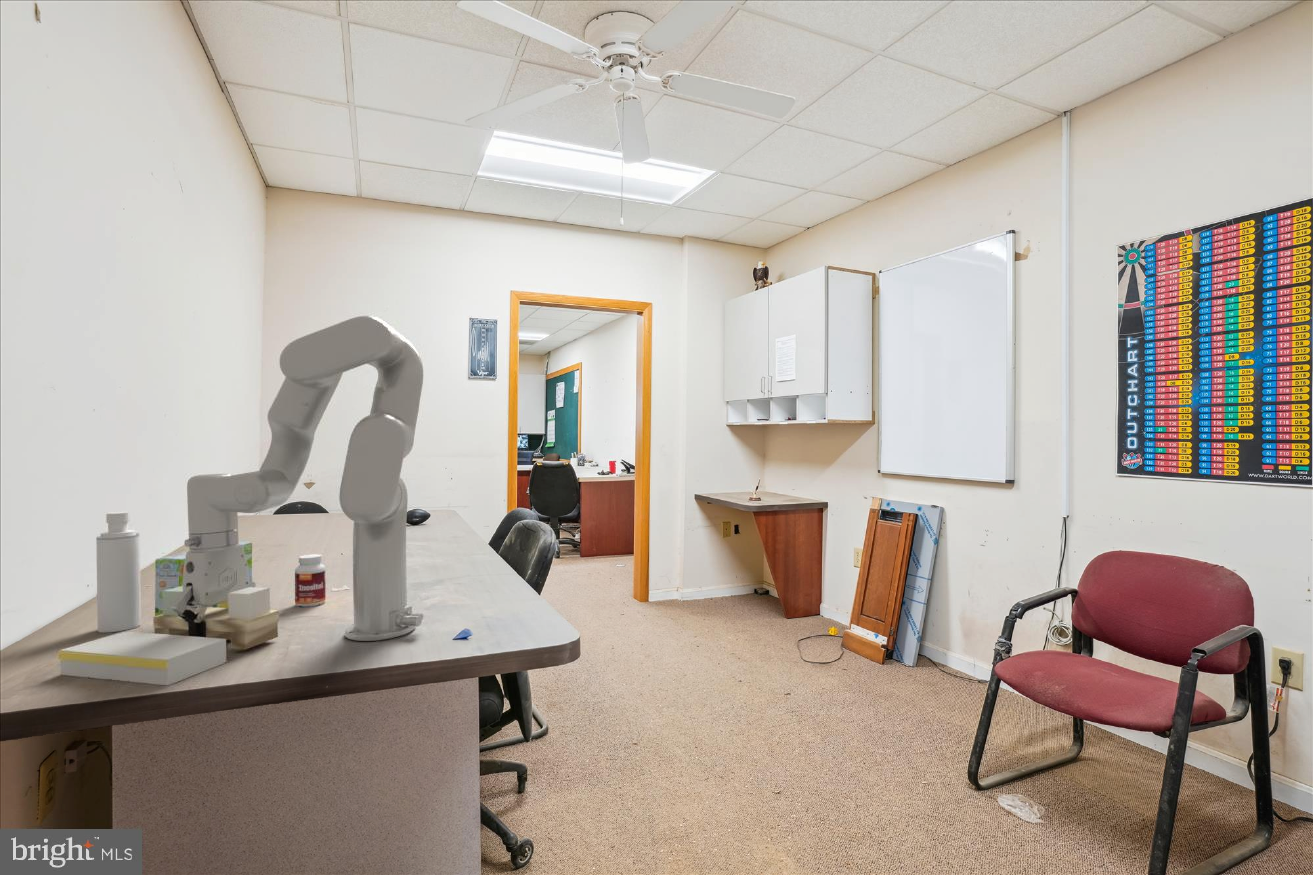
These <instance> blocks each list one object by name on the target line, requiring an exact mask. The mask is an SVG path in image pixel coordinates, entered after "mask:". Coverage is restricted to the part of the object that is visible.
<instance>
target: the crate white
mask: <svg viewBox="0 0 1313 875" xmlns="http://www.w3.org/2000/svg"><path fill="white" fill-rule="evenodd" d="M228 609H229V618H234V619H251V618H254V617H257V616H260V615H263V614H266V613H269V612H270V610H271V594H270V587H256V586H255V587H248V588H245V589H241V590H238V591H234V592H231V593H228Z"/></svg>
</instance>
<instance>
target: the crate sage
mask: <svg viewBox="0 0 1313 875" xmlns="http://www.w3.org/2000/svg"><path fill="white" fill-rule="evenodd" d="M182 592H183V586H180V587H176V588H172V589H168V590H164V591H162V595H163V615H171V616H179V615H178V613H176V612H175V611H174V610H173V609H171V605H172V603H173V602H174V601H175V600H176V599H177V598H178V596H179V595H180V594H181V593H182ZM186 607H187V609H188V608H189V606H186ZM197 610H198V608H197V609H196V612H197Z"/></svg>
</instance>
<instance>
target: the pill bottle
mask: <svg viewBox="0 0 1313 875" xmlns="http://www.w3.org/2000/svg"><path fill="white" fill-rule="evenodd" d="M322 560H323V557H322V554H319V553H318V554H317V553H316V554H315V553H313V554H312V553H311V554H305V555H300V556H298V563H299V565H298V566H297V567H296V568H295V570H294V602H295V603H294V604H295V606H296V607H299V606H304V607H303V608H307V607H306V606H311V607H316V606H319V604H320V605H323V604H324V603H325V602H326V599H327V598H326V596H327V595H326V592H327V591H326V590H327V588H326V566H325V565H324V564H322V562H323V561H322Z"/></svg>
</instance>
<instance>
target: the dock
mask: <svg viewBox="0 0 1313 875" xmlns="http://www.w3.org/2000/svg"><path fill="white" fill-rule="evenodd" d="M57 653H58V655H57V657H58V660H59V661H60V675H61V676H68V677H69V676H70V677H71V676H72V677H78V678H88V677H90V679H91V678H92V677H93V678H92V679H98V680H108V679H110V681H118V680H119V681H122V682H128V681H129V682H130V683H140V684H151V685H157V686H158V685H159V686H170V685H172V684H176V683H177V682H180V681H183V680H186V679H188V678H190V677H193V676H196V675H198V674H201V673H204V672H207V671H209V670H210V669H211V670H212V669H213V668H216V667H218V666H220V665H224V664H226V663H227V640H226V639H220V638H207V637H194V636H180V635H167V634H155V632H141V631H140V632H139V631H129V630H124V631H120V632H117V633H115V634H111V635H108V636H104V637H100V638H98V639H94V640H91V641H86V642H85V643H84V642H83V643H80V644H78V645H73V646H71V647H67V648H63V649H60V651H58V652H57ZM225 662H226V663H225ZM111 679H112V680H111ZM129 682H128V683H129Z"/></svg>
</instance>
